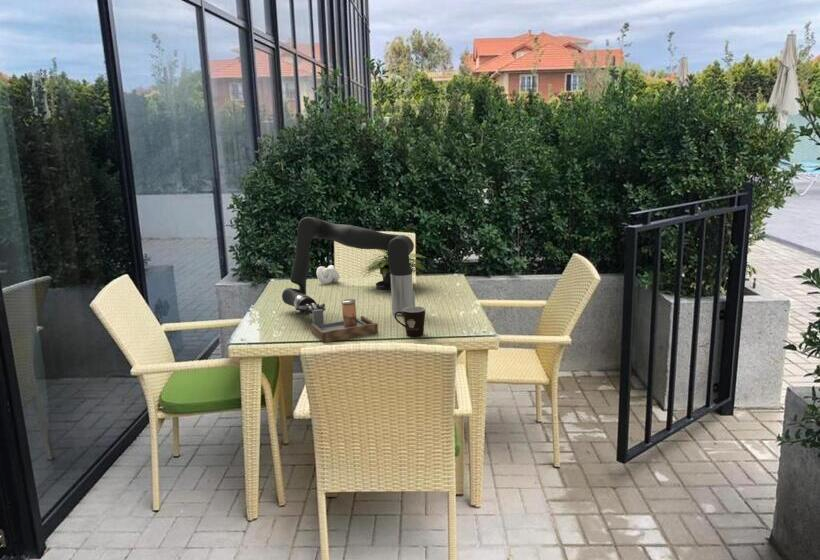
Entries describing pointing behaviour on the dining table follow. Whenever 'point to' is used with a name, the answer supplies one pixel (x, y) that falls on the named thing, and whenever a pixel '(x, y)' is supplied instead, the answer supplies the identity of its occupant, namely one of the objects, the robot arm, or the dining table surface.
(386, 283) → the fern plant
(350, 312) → the tea tin
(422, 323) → the coffee mug
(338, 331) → the wooden base box
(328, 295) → the dining table surface
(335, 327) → the sliding tray
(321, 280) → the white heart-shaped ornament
